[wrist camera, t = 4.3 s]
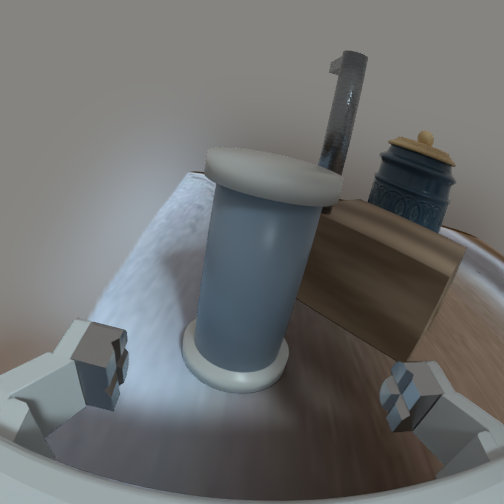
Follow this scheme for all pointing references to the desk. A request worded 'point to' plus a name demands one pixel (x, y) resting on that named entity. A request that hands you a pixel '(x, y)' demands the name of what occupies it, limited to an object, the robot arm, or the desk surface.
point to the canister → (414, 181)
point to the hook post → (342, 111)
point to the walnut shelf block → (378, 275)
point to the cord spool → (254, 264)
